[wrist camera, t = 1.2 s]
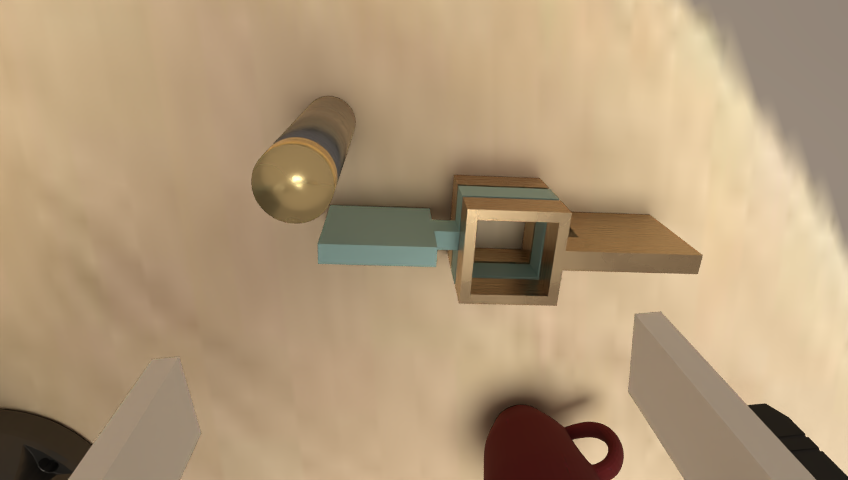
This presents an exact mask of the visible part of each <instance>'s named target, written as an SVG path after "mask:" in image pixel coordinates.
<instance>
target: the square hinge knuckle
mask: <svg viewBox="0 0 848 480" xmlns="http://www.w3.org/2000/svg"><path fill="white" fill-rule="evenodd" d="M458 186H480V187H507V188H533V189H549V188H548V186H547V185H546V184H545V183H544V182H543V181H542V180H541V179H540V178H520V177H495V176H469V175H454V181H453V194H452V207H451V220H455V219H456V207H457V195H458ZM477 220H493V221H522V222H525V228H524V236H523V243H522V249H492V248H475V241H476V230H477ZM536 222H547V227H546V234H545V240H544V247H543V254H542V261H541V267H540V274H539V280H533V279H494V278H472V271H473V263H504V264H530V261H531V254H532V247H533V239H534V232H535V225H536ZM452 256H453V250H448V258H449V263H450V267H451V268H452ZM702 256H703V255H702V254H700V253H699V252H698V251H697V250H695V249H694V248H693V247H691V246H690V245H689V244H687V243H686V242H685V241H683V240H682V239H681V238H680V237H678V236H677V235H676V234H674V233H673V232H672V231H670V230H669V229H668V228H666V227H665V226H664V225H663V224H661V223H660V222H659V221H657V220H656V219H655V218H653V217H652V216H651V215H643V214H614V213H585V212H571V211H570V210H569V209H568V208H567V207H566V206H565V205H564V204H563V203H562V202H561V201H560V200H533V199H505V198H478V197H463V200H462V211H461V223H460V235H459V246H458V258H457V270H456V281H455V288H456V292H457V296H458V301H459V303H464V304H508V305H553V306H557V300H558V294H559V288H560V282H561V276H562V270H568V271H605V272H642V273H679V274H698V271H699V267H700V264H701V260H702Z"/></svg>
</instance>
